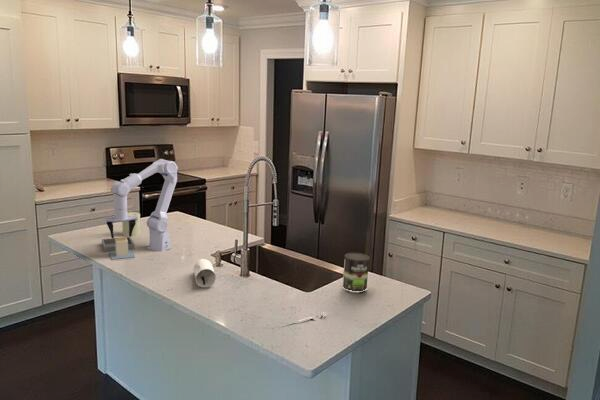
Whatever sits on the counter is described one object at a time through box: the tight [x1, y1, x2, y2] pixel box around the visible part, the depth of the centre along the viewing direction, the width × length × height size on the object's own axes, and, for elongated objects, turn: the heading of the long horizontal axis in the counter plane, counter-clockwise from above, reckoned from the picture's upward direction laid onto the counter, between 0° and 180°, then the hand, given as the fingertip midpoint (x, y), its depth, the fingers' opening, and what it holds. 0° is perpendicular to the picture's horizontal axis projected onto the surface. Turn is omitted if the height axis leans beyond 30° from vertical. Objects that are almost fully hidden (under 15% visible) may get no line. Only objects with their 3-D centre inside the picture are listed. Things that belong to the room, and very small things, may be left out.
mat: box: [108, 250, 136, 262], centre depth 221 cm, size 10×10×1 cm
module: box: [114, 237, 128, 256], centre depth 221 cm, size 5×5×7 cm
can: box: [121, 211, 141, 238], centre depth 253 cm, size 9×9×12 cm
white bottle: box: [193, 258, 217, 288], centre depth 199 cm, size 8×19×8 cm, turn 16°
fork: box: [298, 310, 329, 321], centre depth 167 cm, size 3×20×2 cm, turn 122°
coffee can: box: [342, 252, 370, 291], centre depth 197 cm, size 10×10×14 cm
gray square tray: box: [101, 236, 136, 253], centre depth 233 cm, size 13×13×3 cm
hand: (121, 237), depth 220 cm, fingers open, 7 cm apart
